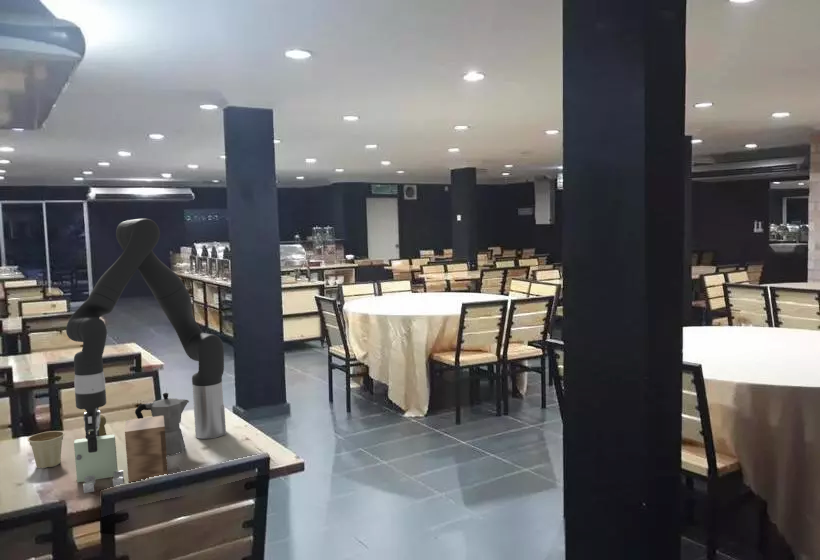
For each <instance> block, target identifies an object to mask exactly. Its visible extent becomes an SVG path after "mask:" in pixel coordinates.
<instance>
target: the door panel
mask: <svg viewBox="0 0 820 560" xmlns="http://www.w3.org/2000/svg"><path fill="white" fill-rule="evenodd" d="M116 443H117V442H116V434H106V435H105V436H98V437H97V449H98V450H97V452H92V453H89V452H88V440H87V439H86V438H85V437H84V438H77V439H74V442H73V447H74V448H73V449H74V459H75V461H74V462H75V472H76V482H77V483H82V482H83V483H84V482H85V476H88V475H95V481H96V480H101V479H107V478H108V479H109V478H112V477H113V478H114V474H113V472H114V471H119V469H118V459H117V457H118V456H117V444H116Z"/></svg>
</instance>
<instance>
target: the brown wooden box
mask: <svg viewBox="0 0 820 560" xmlns="http://www.w3.org/2000/svg"><path fill="white" fill-rule="evenodd" d="M124 439H125V451H126V454H125V455H126V466H127V478H128V483H133V482H132V481H135V482H139V481H138V480H141V479H146V478H149V477H154V476H159V475H164V474H168V475H169V470H168V469H169V468H168V456H167V453H166V439H165V425H164V415H163V416H156V417H152V416H150V417H143V418H140V419H138V418H133V419H126V420H125V425H124ZM141 481H142V480H141Z"/></svg>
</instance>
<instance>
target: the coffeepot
mask: <svg viewBox="0 0 820 560" xmlns="http://www.w3.org/2000/svg"><path fill="white" fill-rule="evenodd" d="M162 396H163V397H162V399H159V400H155V401H152V402H147V403H141V404H138V407H137V408H136V409H135V411H134V413H135V416H136V417H137V418H136V419H140V418H144V415H143V413H142V411H150V412H151V417H156V416H163V415H164V425H165V439H166V453H167V455H169V456H173V455H174V454H175V455H177V454H176V453H178V454H180V453H182V452H184V451H185V449H186V443H185V440H184V436H183V432H182V428H181V427H180V423H181V422H182V414H183V412H184V410H185V408H186V407H187V405H188V403H190V401H189V400H188V399H185V398H183V399H182V398H181V399H180V398H173V397H172V398H169V393H168V392H164V393H163V394H162ZM179 452H180V453H179ZM175 455H174V456H175Z"/></svg>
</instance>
